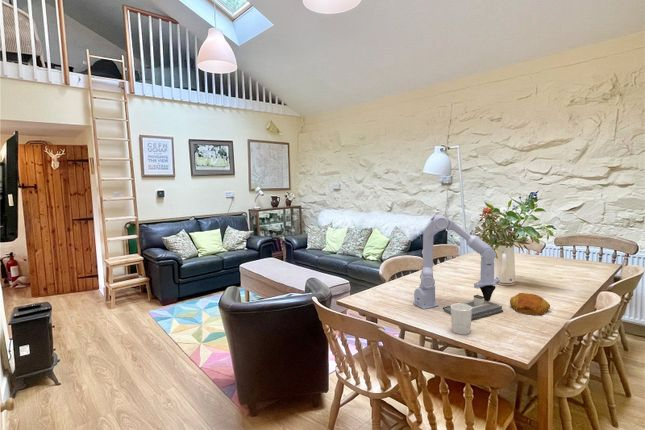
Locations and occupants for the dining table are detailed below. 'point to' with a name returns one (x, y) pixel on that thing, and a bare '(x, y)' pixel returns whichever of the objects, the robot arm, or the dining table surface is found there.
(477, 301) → the grey and beige block
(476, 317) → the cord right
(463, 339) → the dining table surface
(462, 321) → the white cup
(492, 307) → the breaker panel
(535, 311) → the croissant
